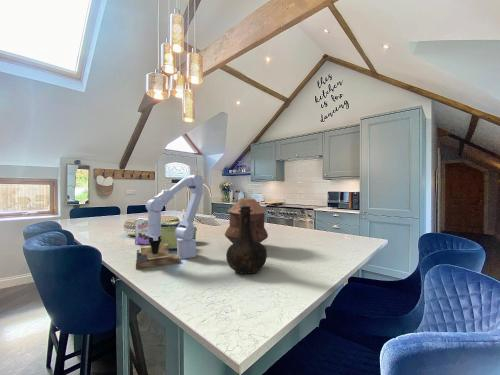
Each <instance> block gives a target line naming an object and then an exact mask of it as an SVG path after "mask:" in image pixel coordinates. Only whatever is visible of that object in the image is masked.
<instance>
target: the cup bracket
mask: <svg viewBox="0 0 500 375" xmlns="http://www.w3.org/2000/svg"><path fill="white" fill-rule="evenodd" d="M136 259H137V263H143V262H147V255H143V256H141V249H137V250H136Z"/></svg>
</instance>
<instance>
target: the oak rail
mask: <svg viewBox="0 0 500 375" xmlns="http://www.w3.org/2000/svg"><path fill="white" fill-rule="evenodd" d="M140 253H141V256H143V255H147V258H154V257H162V256H168V255H169V251H168V244H160V245H159V249H158V254H153V253H152V248H151V245H142V246H140Z"/></svg>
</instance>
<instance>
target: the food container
mask: <svg viewBox="0 0 500 375" xmlns="http://www.w3.org/2000/svg"><path fill="white" fill-rule="evenodd" d="M194 227H195V228H194V236H193V238H192V239H195V240H196V239H197V236H196V235H197V231H198V229H197V226H195V225H194Z"/></svg>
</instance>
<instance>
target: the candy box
mask: <svg viewBox="0 0 500 375" xmlns="http://www.w3.org/2000/svg"><path fill="white" fill-rule="evenodd" d="M145 234H148V217H147V218H142V217H138V218H135V219H134V244H135V245H147V246H151V245H150V243H149V239H148V238H149V236H146V235H145Z"/></svg>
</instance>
